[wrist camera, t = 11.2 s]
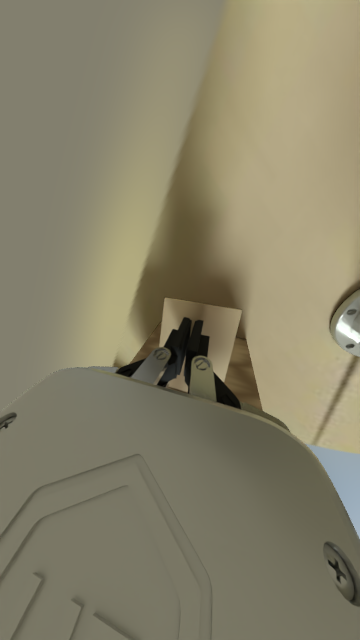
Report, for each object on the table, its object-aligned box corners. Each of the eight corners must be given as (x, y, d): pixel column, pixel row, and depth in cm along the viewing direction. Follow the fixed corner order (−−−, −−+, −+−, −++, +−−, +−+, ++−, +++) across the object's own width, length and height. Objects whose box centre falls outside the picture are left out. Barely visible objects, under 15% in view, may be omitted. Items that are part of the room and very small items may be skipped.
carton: (246, 339, 23) (263, 414, 14) (224, 391, 32) (225, 459, 22) (160, 322, 27) (123, 372, 17) (161, 373, 35) (137, 426, 25)
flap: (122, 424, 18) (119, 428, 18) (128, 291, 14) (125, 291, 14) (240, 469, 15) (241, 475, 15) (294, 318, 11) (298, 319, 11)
